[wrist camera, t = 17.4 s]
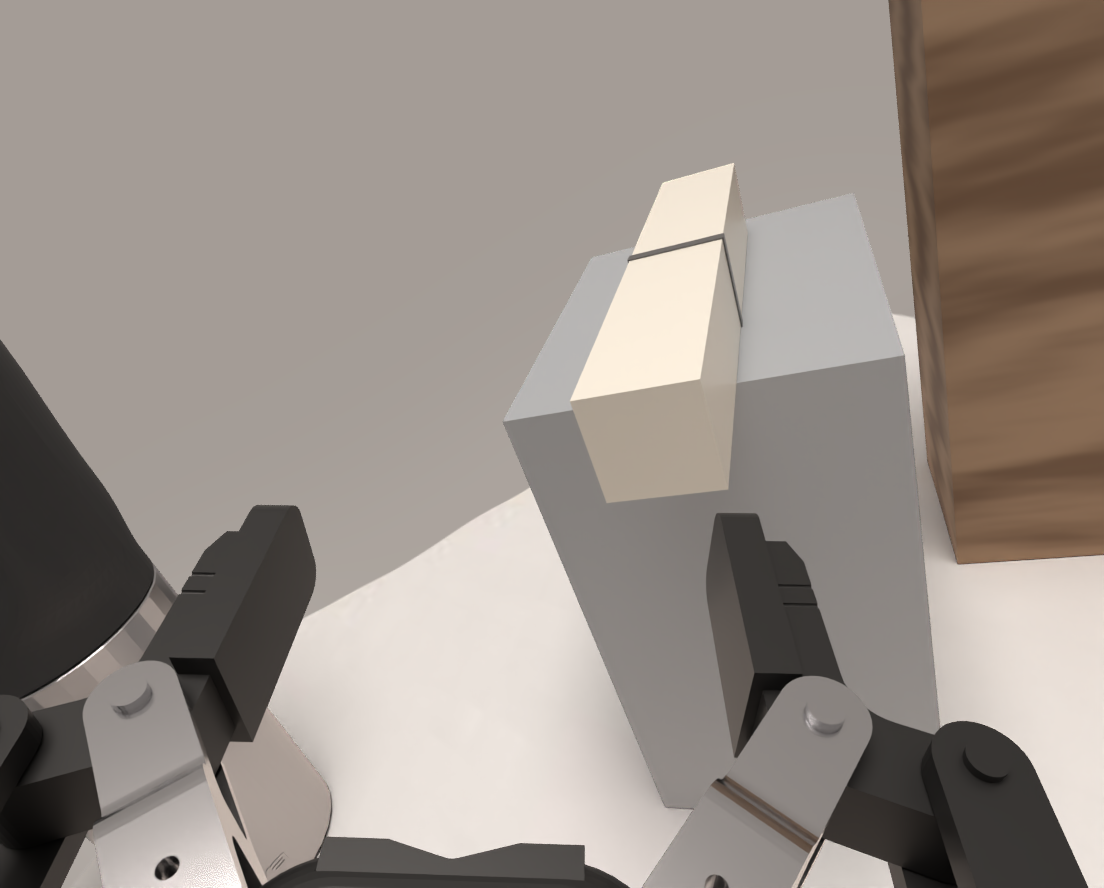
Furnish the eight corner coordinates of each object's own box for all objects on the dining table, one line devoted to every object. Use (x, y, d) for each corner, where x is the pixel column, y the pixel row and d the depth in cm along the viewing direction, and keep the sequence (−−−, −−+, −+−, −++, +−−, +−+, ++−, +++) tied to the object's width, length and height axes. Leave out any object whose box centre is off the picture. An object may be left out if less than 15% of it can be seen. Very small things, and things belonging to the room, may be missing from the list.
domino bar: (730, 490, 17) (701, 376, 15) (605, 505, 18) (566, 399, 17) (749, 233, 31) (735, 161, 30) (678, 250, 32) (661, 181, 31)
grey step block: (948, 821, 30) (904, 355, 19) (665, 807, 34) (502, 421, 24) (898, 568, 42) (853, 192, 31) (692, 581, 46) (591, 257, 36)
